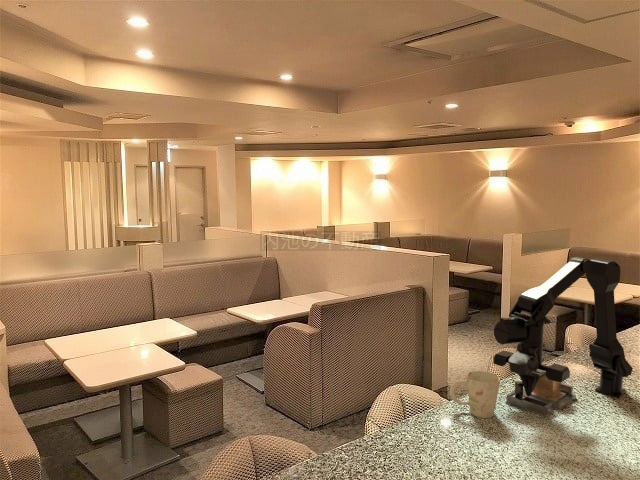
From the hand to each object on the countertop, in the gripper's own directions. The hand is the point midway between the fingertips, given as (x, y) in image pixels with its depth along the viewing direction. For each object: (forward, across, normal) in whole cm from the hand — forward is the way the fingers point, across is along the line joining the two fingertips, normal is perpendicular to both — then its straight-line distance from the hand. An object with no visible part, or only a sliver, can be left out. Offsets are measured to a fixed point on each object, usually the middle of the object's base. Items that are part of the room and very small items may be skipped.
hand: (528, 395), depth 136 cm
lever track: (+3, 0, 0) cm, 3 cm away
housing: (+2, +1, +10) cm, 10 cm away
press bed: (+3, +1, +10) cm, 10 cm away
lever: (+2, -3, 0) cm, 4 cm away
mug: (+3, -8, -14) cm, 17 cm away
